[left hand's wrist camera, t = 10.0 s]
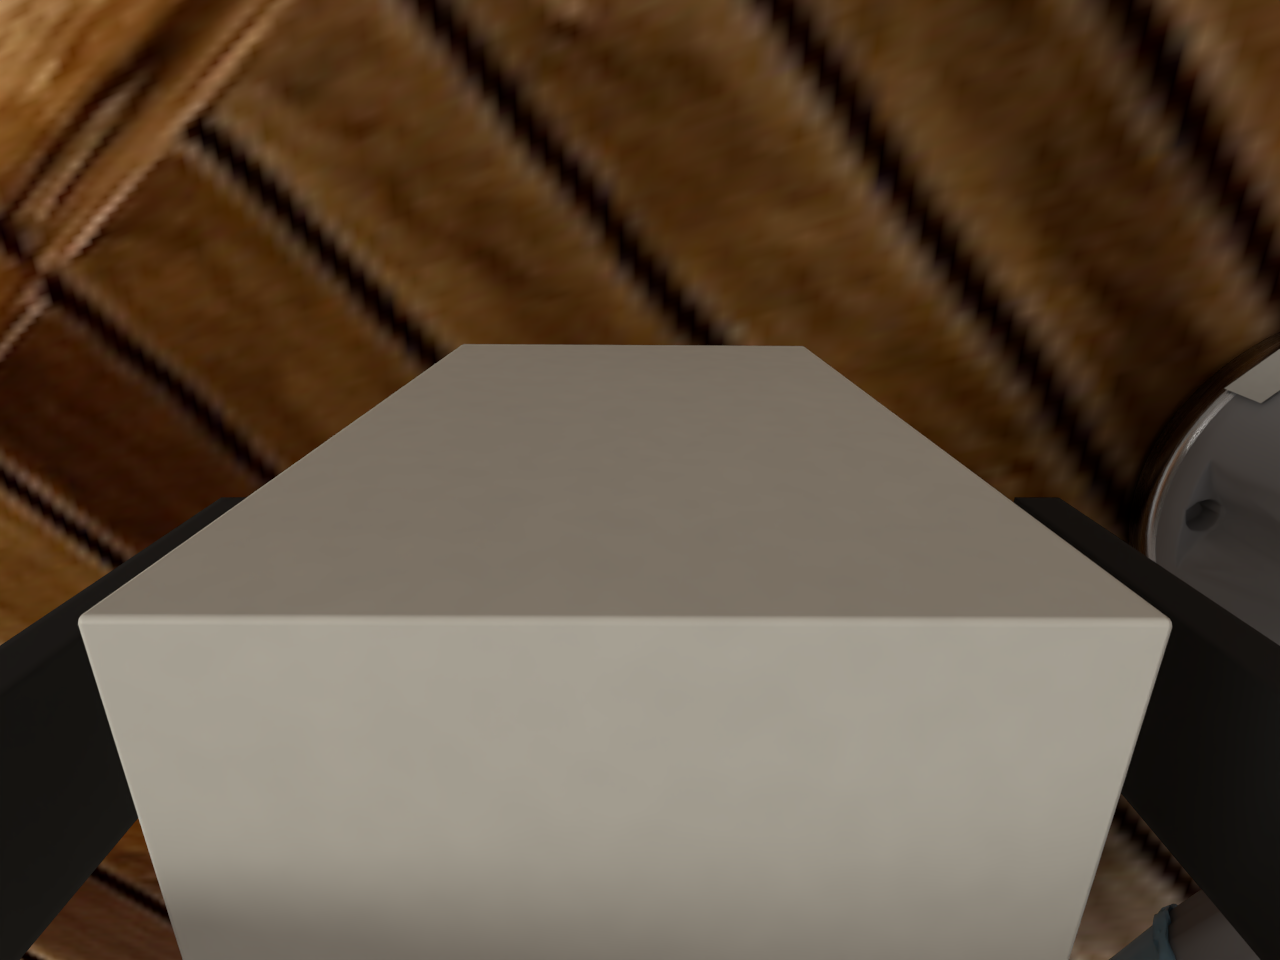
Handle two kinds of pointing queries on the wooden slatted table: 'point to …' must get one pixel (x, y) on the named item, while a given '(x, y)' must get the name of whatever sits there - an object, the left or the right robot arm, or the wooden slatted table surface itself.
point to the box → (625, 681)
